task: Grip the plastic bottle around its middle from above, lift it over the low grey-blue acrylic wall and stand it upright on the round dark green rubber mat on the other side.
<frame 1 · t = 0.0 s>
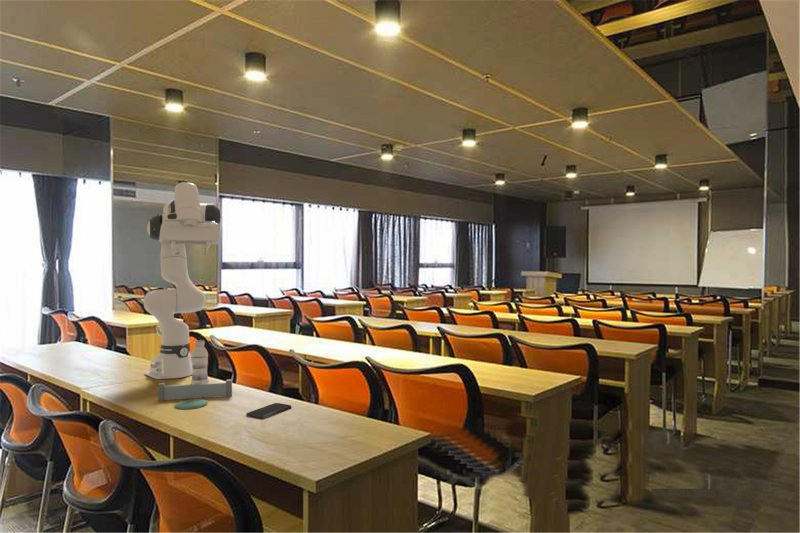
hand: (191, 253, 182), 54 cm above the table, tool tilted 30°, fingers open, 8 cm apart
plastic bottle: (199, 391, 203), on the table
phone: (269, 413, 176), on the table
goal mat: (191, 404, 184), on the table
low wall: (195, 397, 194), on the table
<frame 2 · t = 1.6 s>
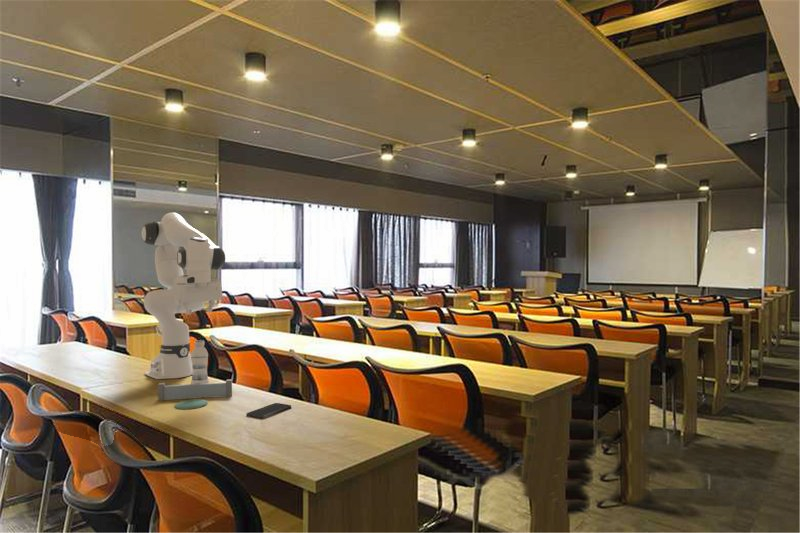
hand: (199, 313, 203), 31 cm above the table, tool pointing down, fingers open, 8 cm apart
nothing on the table moved.
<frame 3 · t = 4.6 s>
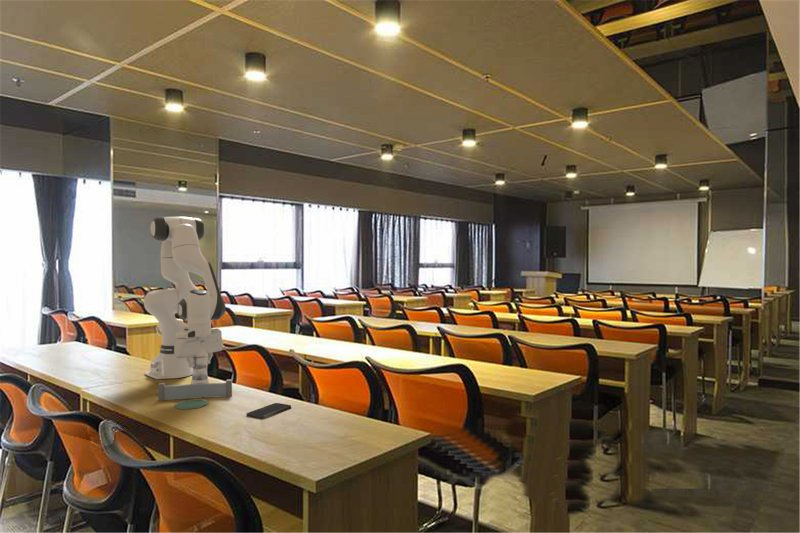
hand: (199, 365, 203), 10 cm above the table, tool pointing down, fingers closed on plastic bottle, 6 cm apart
plastic bottle: (199, 391, 203), on the table, touching gripper
everything else where it was.
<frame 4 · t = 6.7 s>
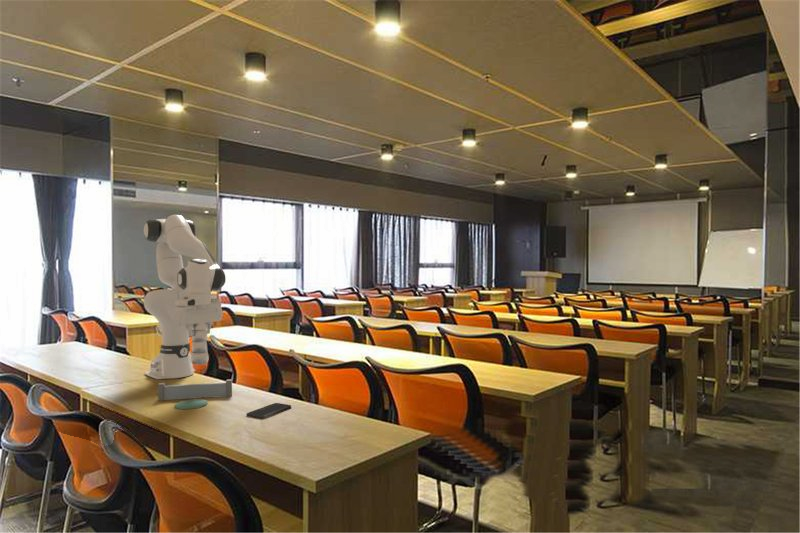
hand: (199, 334, 203), 22 cm above the table, tool pointing down, fingers closed on plastic bottle, 6 cm apart
plastic bottle: (199, 365, 204), point 10 cm above the table, touching gripper
everything else where it was.
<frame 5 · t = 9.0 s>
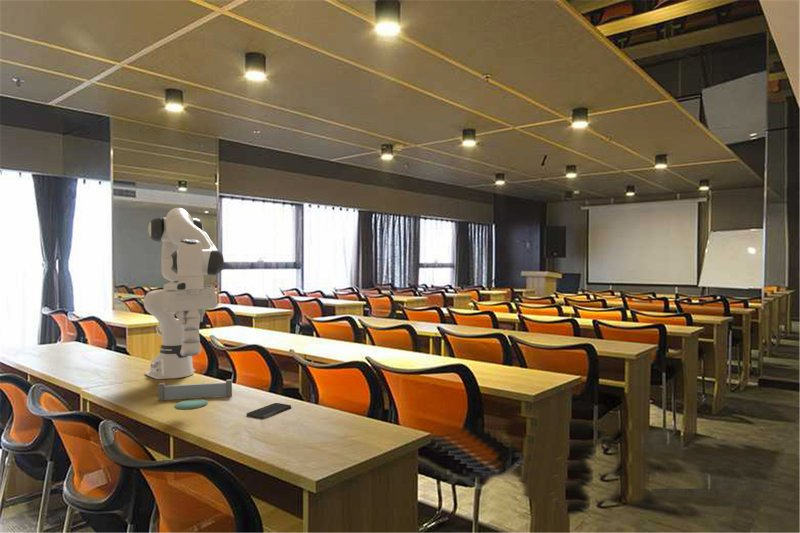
hand: (190, 322, 184), 30 cm above the table, tool pointing down, fingers closed on plastic bottle, 6 cm apart
plastic bottle: (191, 356, 184), point 17 cm above the table, touching gripper
everything else where it was.
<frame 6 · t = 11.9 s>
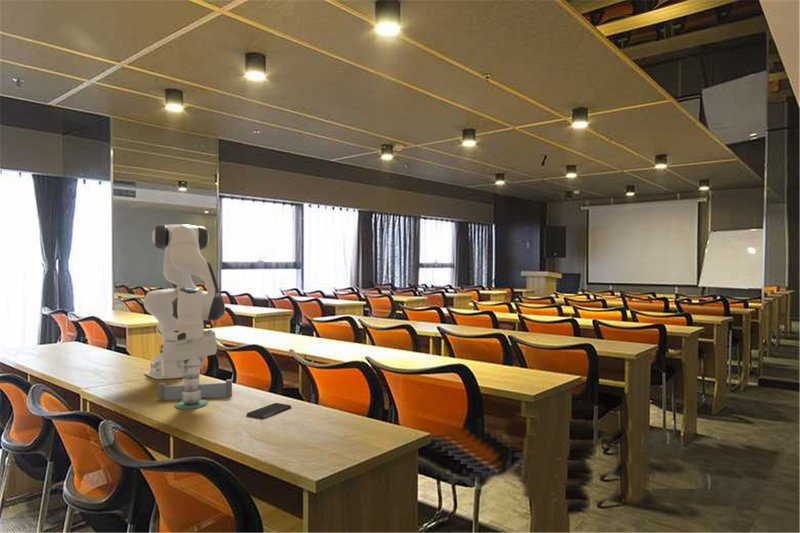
hand: (191, 371, 184), 12 cm above the table, tool pointing down, fingers closed on plastic bottle, 6 cm apart
plastic bottle: (191, 404, 184), resting on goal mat, touching gripper
everything else where it was.
when the fingers open (12 cm above the table, at t = 12.1 s): plastic bottle stays where it is, resting on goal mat.
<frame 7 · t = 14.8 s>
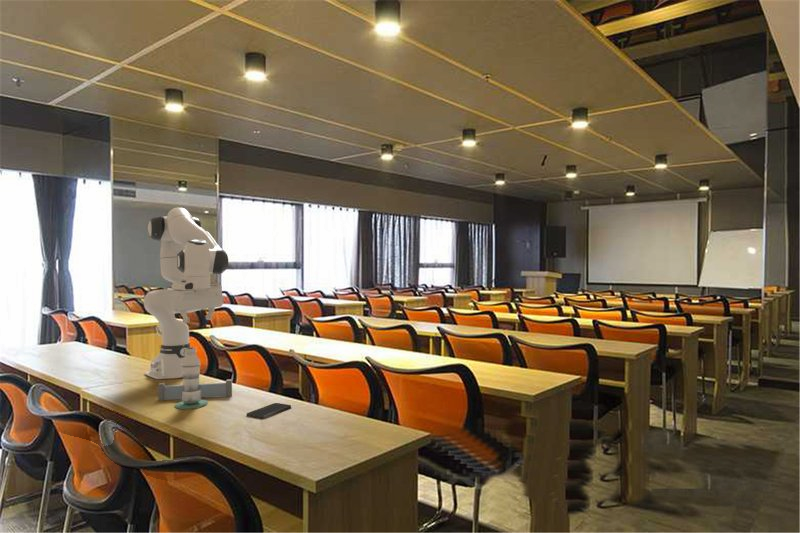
hand: (197, 321, 189), 30 cm above the table, tool pointing down, fingers open, 8 cm apart
plastic bottle: (191, 404, 184), resting on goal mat
everything else where it was.
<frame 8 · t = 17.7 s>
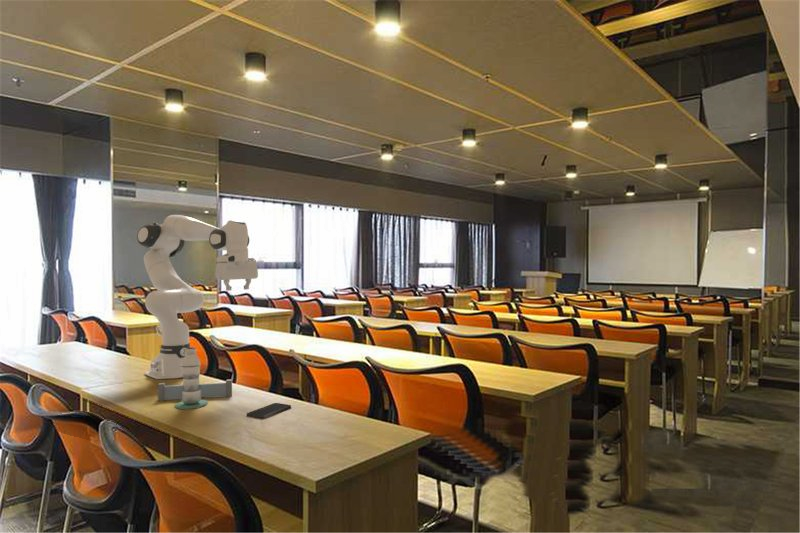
hand: (237, 290, 220), 39 cm above the table, tool pointing down, fingers open, 8 cm apart
nothing on the table moved.
at the end: plastic bottle inside the target area on the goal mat (0.2 cm from its centre), point 0.2 cm above the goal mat's base; plastic bottle tilted 0°; the gripper is holding nothing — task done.
